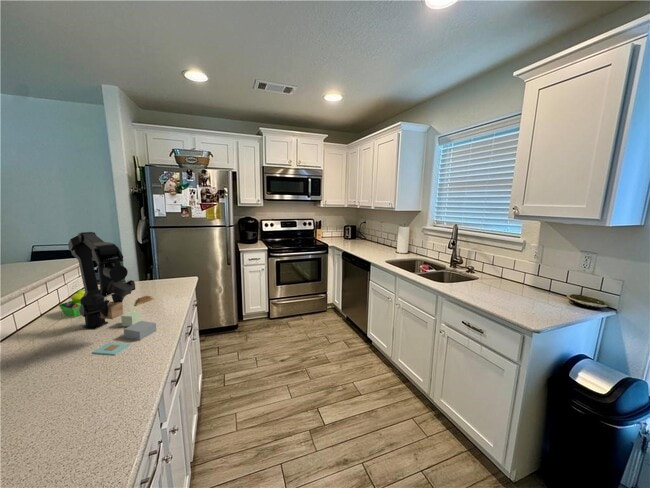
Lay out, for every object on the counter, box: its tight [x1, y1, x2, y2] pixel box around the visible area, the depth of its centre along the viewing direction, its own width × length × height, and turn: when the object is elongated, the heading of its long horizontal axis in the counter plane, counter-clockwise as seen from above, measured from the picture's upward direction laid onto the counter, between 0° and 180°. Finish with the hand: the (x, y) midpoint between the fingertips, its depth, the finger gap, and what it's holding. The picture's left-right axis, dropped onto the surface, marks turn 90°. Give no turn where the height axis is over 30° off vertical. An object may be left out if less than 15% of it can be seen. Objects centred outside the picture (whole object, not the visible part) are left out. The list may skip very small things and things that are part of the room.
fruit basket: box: [58, 289, 85, 318], centre depth 130 cm, size 11×9×11 cm
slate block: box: [123, 320, 158, 341], centre depth 113 cm, size 8×8×4 cm
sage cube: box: [120, 310, 142, 327], centre depth 122 cm, size 5×5×5 cm
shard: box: [135, 295, 155, 306], centre depth 148 cm, size 11×8×2 cm
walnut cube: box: [100, 301, 124, 320], centre depth 107 cm, size 5×5×5 cm
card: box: [92, 341, 131, 356], centre depth 102 cm, size 9×7×1 cm
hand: (112, 313), depth 107 cm, fingers closed on walnut cube, 5 cm apart
